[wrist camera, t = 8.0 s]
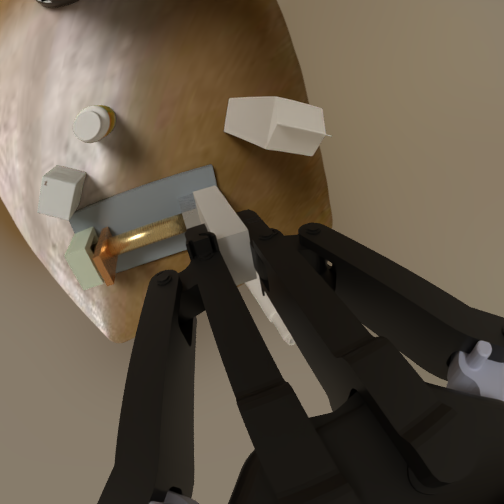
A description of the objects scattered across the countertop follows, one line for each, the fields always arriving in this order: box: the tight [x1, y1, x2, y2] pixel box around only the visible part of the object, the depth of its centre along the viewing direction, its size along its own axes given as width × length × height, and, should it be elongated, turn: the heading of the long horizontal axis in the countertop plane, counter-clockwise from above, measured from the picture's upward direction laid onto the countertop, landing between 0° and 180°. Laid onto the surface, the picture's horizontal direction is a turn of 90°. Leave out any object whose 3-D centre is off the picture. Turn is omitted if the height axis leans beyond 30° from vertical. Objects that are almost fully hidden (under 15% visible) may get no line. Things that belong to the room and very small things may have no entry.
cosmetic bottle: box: [245, 272, 296, 345], centre depth 49 cm, size 6×6×22 cm
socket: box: [64, 227, 104, 290], centre depth 40 cm, size 7×4×8 cm, turn 9°
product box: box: [38, 165, 86, 221], centre depth 34 cm, size 6×6×7 cm
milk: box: [224, 96, 332, 156], centre depth 33 cm, size 6×6×22 cm
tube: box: [90, 213, 187, 286], centre depth 41 cm, size 5×20×10 cm, turn 99°
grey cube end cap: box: [178, 187, 227, 229], centre depth 44 cm, size 6×7×7 cm
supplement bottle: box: [73, 105, 116, 143], centre depth 30 cm, size 5×5×10 cm
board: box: [69, 165, 217, 273], centre depth 46 cm, size 14×27×1 cm, turn 99°
